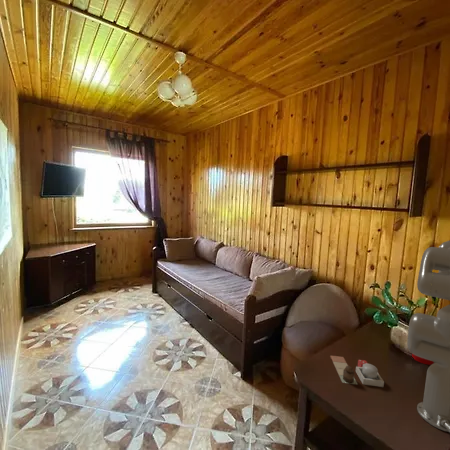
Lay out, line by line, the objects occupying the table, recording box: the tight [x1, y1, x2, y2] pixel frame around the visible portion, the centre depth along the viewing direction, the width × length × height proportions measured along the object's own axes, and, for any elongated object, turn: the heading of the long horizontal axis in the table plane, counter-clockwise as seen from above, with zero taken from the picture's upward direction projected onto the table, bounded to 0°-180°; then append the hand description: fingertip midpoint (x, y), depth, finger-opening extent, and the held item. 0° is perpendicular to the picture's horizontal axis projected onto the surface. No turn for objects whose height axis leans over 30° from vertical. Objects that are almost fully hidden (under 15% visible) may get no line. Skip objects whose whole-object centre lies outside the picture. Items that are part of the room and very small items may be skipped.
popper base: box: [355, 359, 385, 388], centre depth 118 cm, size 15×9×4 cm, turn 172°
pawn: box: [342, 365, 355, 384], centre depth 114 cm, size 4×4×7 cm
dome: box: [362, 362, 379, 380], centre depth 115 cm, size 6×6×4 cm
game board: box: [330, 355, 359, 386], centre depth 122 cm, size 20×7×1 cm, turn 172°
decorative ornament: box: [411, 354, 435, 366], centre depth 133 cm, size 10×10×3 cm
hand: (447, 303), depth 116 cm, fingers open, 9 cm apart
